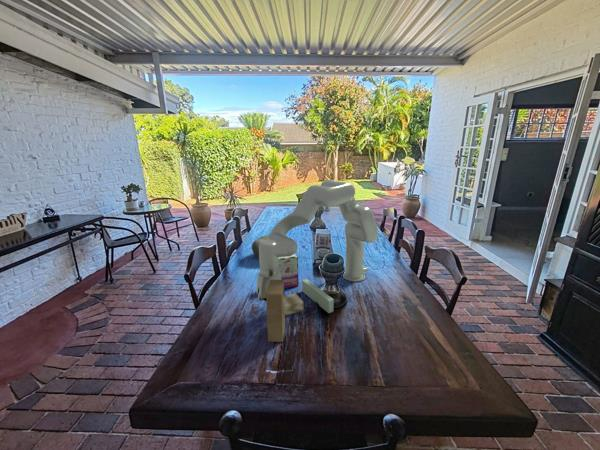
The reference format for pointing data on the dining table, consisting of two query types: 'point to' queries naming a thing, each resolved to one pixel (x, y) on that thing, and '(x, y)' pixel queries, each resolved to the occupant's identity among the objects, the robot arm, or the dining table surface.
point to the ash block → (292, 304)
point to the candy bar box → (289, 270)
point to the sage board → (318, 295)
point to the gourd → (256, 245)
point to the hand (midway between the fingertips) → (270, 309)
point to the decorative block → (275, 310)
